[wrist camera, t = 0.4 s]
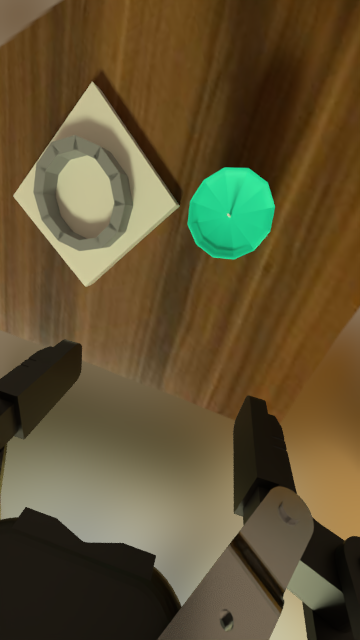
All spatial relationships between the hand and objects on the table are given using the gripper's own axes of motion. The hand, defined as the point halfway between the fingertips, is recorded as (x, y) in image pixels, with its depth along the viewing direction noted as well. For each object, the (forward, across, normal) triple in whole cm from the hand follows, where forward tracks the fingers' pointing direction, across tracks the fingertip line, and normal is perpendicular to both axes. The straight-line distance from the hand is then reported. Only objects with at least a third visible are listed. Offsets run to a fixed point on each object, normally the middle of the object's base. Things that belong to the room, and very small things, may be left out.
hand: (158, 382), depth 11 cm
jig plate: (+21, +15, -5) cm, 27 cm away
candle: (+21, -2, -7) cm, 22 cm away
